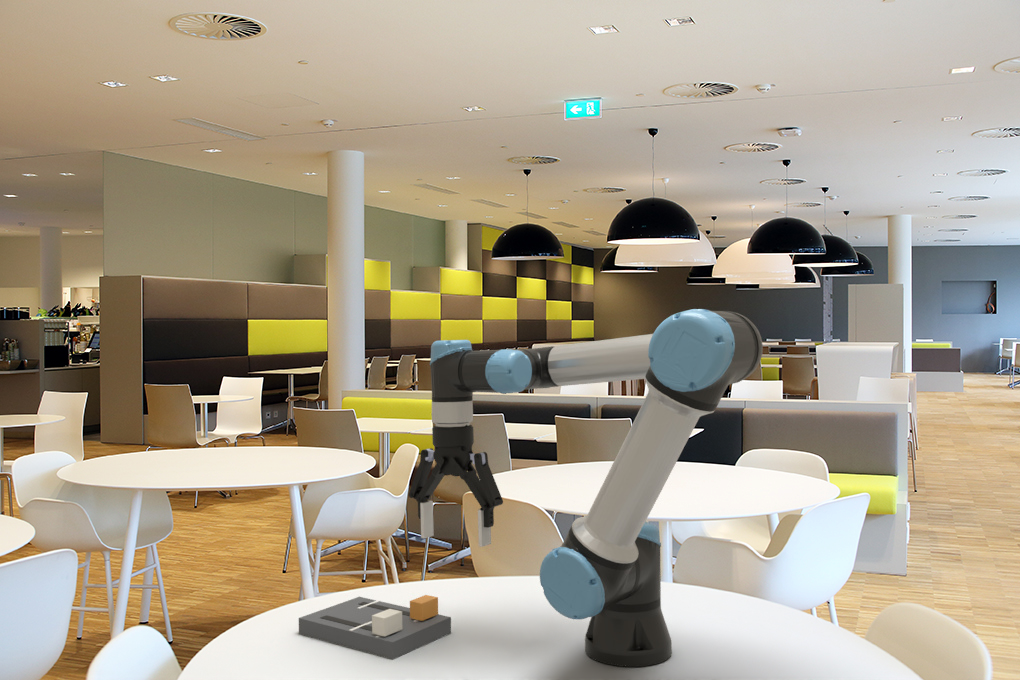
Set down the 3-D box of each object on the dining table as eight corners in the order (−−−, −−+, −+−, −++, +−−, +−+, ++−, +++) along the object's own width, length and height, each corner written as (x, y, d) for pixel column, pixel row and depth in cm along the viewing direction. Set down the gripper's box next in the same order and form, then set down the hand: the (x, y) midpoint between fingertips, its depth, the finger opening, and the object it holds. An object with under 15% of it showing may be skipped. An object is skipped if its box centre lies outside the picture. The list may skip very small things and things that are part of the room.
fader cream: (402, 629, 157) (402, 611, 157) (384, 636, 154) (384, 618, 154) (390, 626, 159) (389, 608, 159) (372, 633, 155) (371, 615, 155)
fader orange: (438, 614, 166) (437, 597, 166) (422, 620, 162) (421, 603, 162) (426, 611, 167) (425, 594, 167) (410, 618, 164) (409, 601, 164)
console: (451, 633, 165) (450, 616, 165) (392, 659, 152) (392, 641, 152) (359, 611, 179) (359, 596, 179) (298, 633, 166) (298, 617, 165)
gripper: (520, 424, 156) (523, 544, 156) (415, 420, 170) (417, 529, 170) (495, 428, 150) (498, 553, 150) (388, 423, 164) (391, 537, 164)
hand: (455, 541), depth 160 cm, fingers open, 13 cm apart
